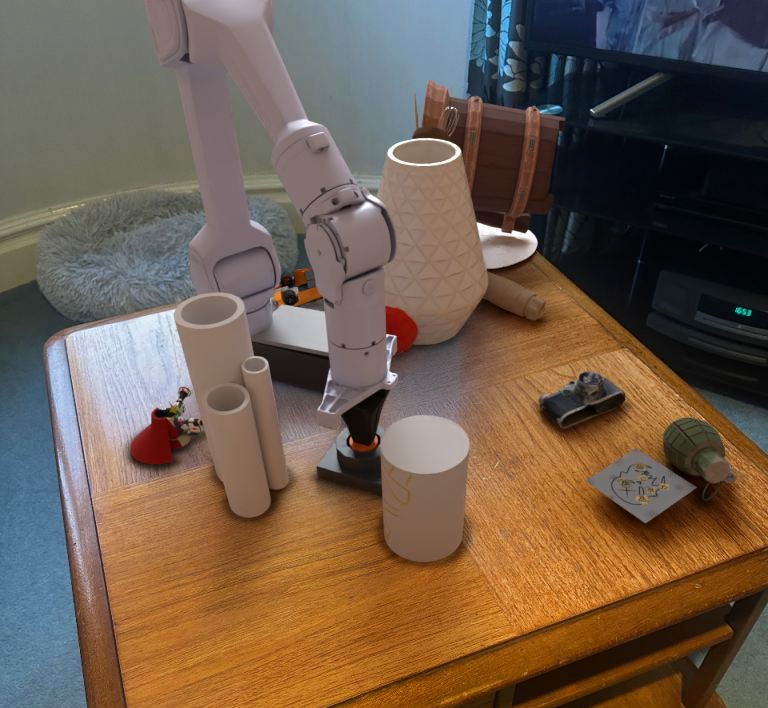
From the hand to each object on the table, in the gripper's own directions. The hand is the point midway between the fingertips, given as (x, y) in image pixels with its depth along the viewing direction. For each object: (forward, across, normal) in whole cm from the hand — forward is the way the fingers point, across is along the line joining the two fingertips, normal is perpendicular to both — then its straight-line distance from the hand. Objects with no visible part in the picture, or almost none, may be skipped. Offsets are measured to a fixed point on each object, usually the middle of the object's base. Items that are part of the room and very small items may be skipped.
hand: (363, 440), depth 79 cm
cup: (+4, -7, -10) cm, 13 cm away
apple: (+4, +23, +7) cm, 24 cm away
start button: (+2, 0, 0) cm, 2 cm away
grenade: (+2, +17, -32) cm, 36 cm away
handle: (+2, +36, -10) cm, 38 cm away
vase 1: (+4, -7, +10) cm, 13 cm away
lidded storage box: (+3, +14, +14) cm, 20 cm away
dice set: (+1, +6, -29) cm, 30 cm away
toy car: (0, +30, +23) cm, 38 cm away
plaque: (+1, +56, +6) cm, 56 cm away
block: (+3, 0, 0) cm, 3 cm away
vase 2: (+3, +29, +5) cm, 30 cm away
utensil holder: (-12, +36, +8) cm, 39 cm away
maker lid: (-2, +14, +14) cm, 20 cm away
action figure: (+4, -5, +23) cm, 24 cm away
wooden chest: (-10, +50, +15) cm, 53 cm away
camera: (+4, +19, -20) cm, 28 cm away
